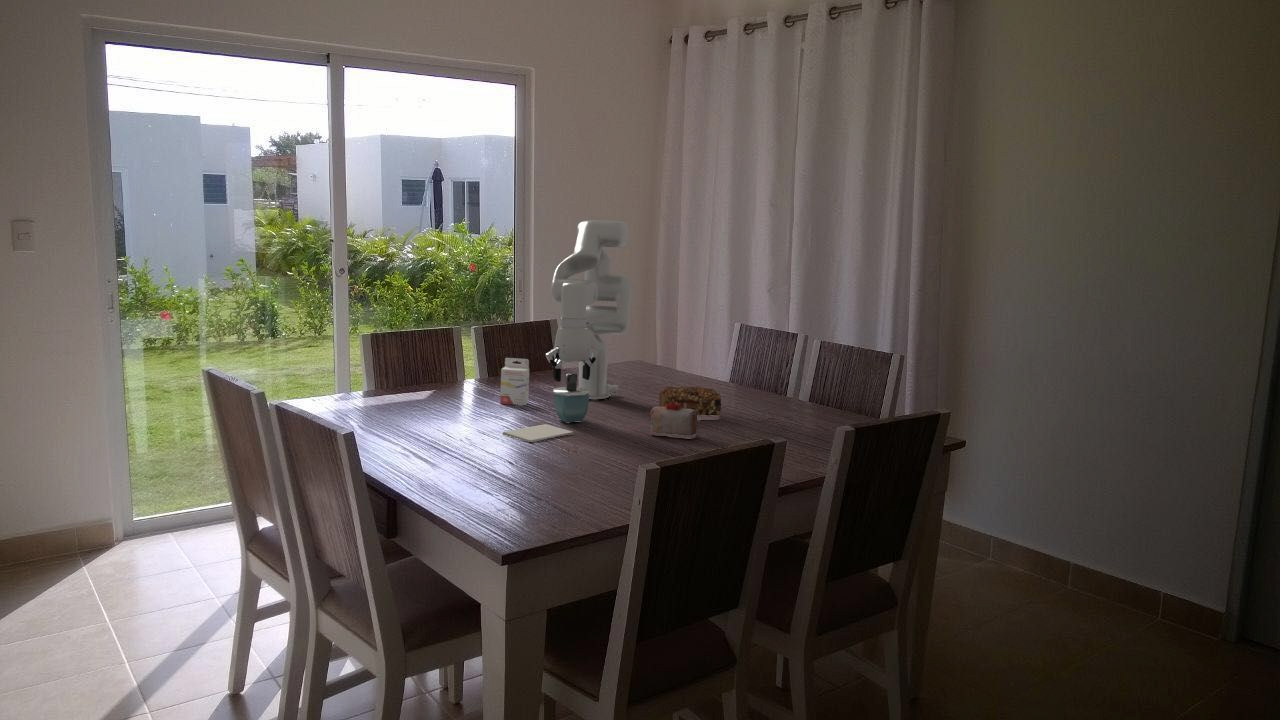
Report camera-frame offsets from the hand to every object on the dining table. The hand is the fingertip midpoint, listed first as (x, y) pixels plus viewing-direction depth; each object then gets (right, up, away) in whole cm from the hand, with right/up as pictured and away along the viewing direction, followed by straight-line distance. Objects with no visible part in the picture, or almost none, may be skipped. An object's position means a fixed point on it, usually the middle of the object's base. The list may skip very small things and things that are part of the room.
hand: (571, 380), depth 280 cm
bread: (+36, -13, +15) cm, 41 cm away
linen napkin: (-8, -15, -16) cm, 23 cm away
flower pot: (-1, -13, +2) cm, 13 cm away
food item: (+30, -16, -11) cm, 36 cm away
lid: (0, -4, +1) cm, 4 cm away
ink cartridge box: (-21, -8, +25) cm, 33 cm away
